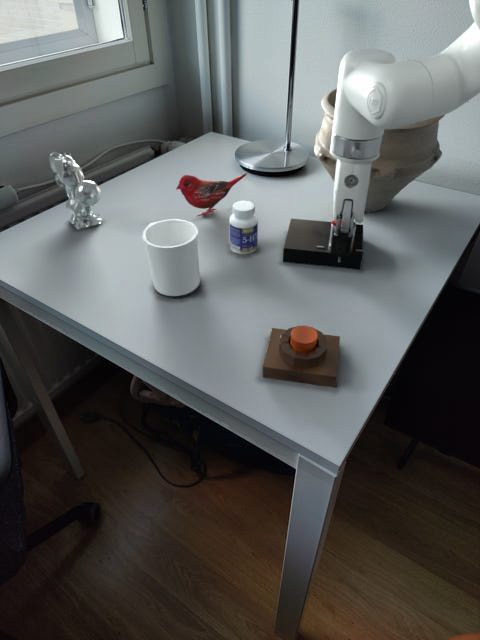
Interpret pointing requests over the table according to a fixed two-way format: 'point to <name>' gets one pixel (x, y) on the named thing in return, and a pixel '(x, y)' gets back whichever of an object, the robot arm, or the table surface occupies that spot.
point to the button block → (302, 359)
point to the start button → (303, 339)
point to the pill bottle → (243, 228)
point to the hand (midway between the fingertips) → (340, 245)
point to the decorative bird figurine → (205, 191)
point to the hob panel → (319, 245)
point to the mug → (173, 257)
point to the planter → (386, 155)
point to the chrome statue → (76, 190)
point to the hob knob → (333, 227)
